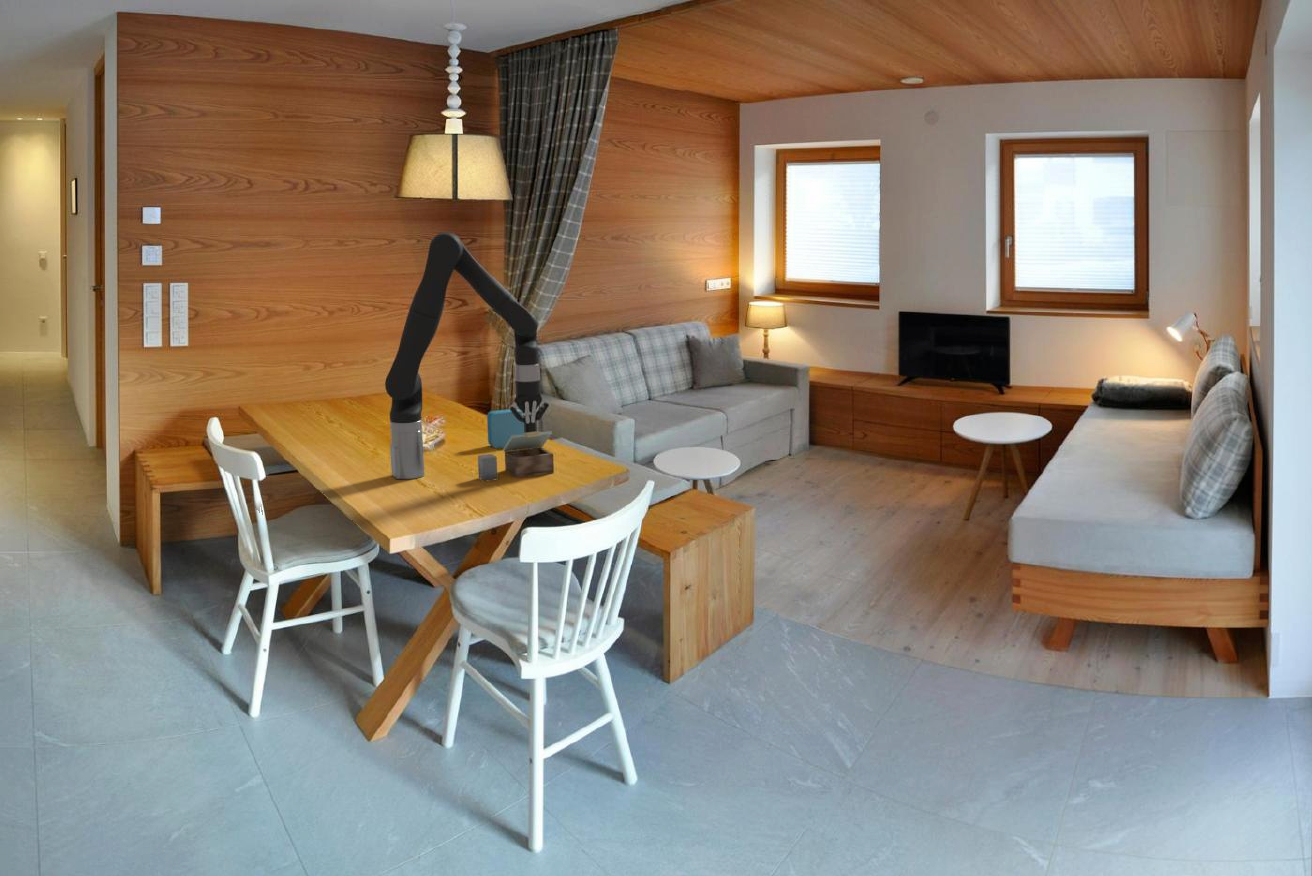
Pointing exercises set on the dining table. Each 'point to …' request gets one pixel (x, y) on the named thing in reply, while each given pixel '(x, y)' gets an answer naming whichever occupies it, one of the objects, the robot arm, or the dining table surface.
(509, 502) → the dining table surface
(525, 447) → the box lid
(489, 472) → the block
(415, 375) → the robot arm
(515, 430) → the data package
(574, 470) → the dining table surface
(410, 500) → the dining table surface
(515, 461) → the walnut box
